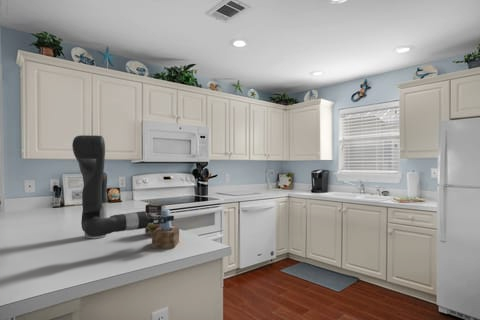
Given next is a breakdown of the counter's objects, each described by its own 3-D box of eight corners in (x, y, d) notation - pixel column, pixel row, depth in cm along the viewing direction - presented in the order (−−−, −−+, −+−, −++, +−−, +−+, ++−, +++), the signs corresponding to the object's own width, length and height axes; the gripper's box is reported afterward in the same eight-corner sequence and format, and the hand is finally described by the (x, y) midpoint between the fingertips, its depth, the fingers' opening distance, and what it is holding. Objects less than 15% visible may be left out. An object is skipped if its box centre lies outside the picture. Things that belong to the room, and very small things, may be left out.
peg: (160, 241, 129) (159, 211, 129) (162, 239, 133) (162, 209, 133) (168, 241, 129) (168, 211, 129) (171, 239, 133) (170, 209, 133)
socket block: (151, 247, 126) (152, 232, 126) (158, 241, 136) (158, 227, 136) (174, 248, 126) (174, 232, 126) (179, 241, 136) (179, 227, 136)
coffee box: (144, 235, 148) (144, 205, 148) (149, 232, 154) (149, 203, 154) (161, 236, 147) (161, 205, 147) (165, 233, 153) (165, 203, 153)
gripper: (140, 214, 117) (176, 210, 127) (129, 210, 128) (163, 206, 138) (140, 232, 117) (176, 227, 127) (129, 226, 128) (163, 221, 138)
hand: (169, 216), depth 132 cm, fingers open, 8 cm apart
